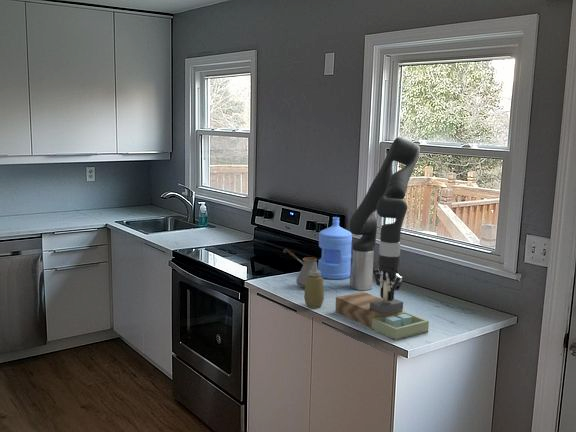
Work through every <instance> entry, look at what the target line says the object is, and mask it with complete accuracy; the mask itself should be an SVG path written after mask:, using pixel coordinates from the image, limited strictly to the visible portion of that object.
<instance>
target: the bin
mask: <svg viewBox="0 0 576 432" xmlns="http://www.w3.org/2000/svg"><path fill="white" fill-rule="evenodd" d="M400 314H407V315H409V316H412V324H409V325H405V326H402V327H398V328H396V327H393V326H391V325H389V324H386V323H385V318H386V317H391V316H395V317H396V315H400ZM429 323H430V321H429V320H428V319H425V318H422V317H420V316H417V315H414V314H412V313H410V312H407V311H403V312H400V313H396V314H391V315H387V316H383V317H379V318H374V319H372V328H371V331H374V332H376V333H378V334H381V335H383V336H385V337H387V338H390V339H391V338H392V340H394V341H398V340H402V339H405V338H410V337H413V336H418V335H420V334H425V333H428V332H429V327H430V326H429Z"/></svg>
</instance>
